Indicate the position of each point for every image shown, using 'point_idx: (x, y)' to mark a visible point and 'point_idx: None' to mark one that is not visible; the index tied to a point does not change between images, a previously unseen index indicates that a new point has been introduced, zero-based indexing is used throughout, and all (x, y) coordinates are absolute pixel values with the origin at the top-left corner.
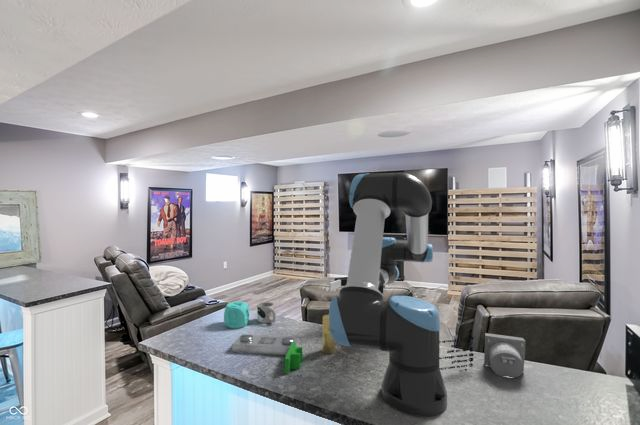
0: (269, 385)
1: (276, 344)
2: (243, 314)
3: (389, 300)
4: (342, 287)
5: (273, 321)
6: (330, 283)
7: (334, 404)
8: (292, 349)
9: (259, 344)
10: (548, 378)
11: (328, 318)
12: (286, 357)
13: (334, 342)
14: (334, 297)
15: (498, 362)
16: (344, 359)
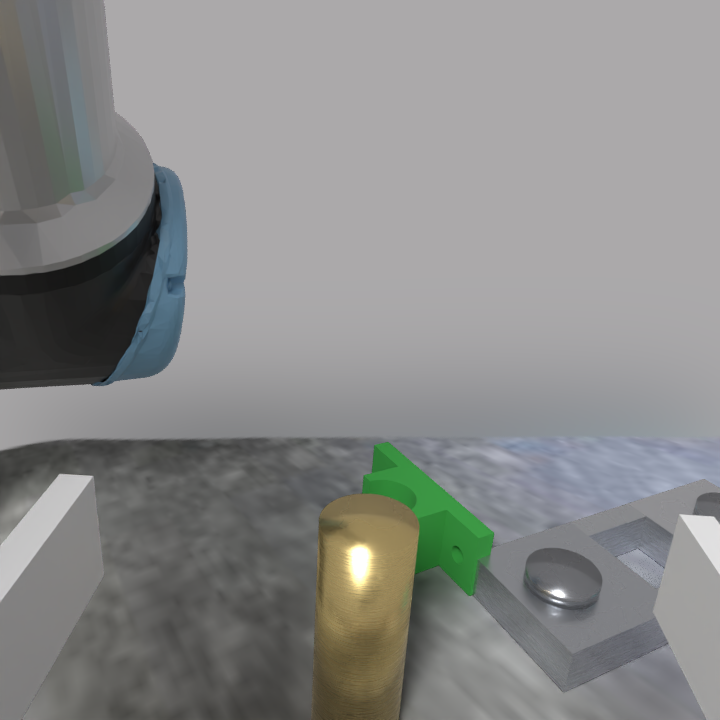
0: (370, 443)
1: (575, 543)
2: None
3: None
4: (120, 117)
5: None
6: (684, 521)
7: (135, 453)
8: (426, 490)
9: (627, 514)
10: None
11: (350, 501)
12: (391, 448)
13: (313, 672)
14: (162, 168)
15: None
16: (210, 682)
